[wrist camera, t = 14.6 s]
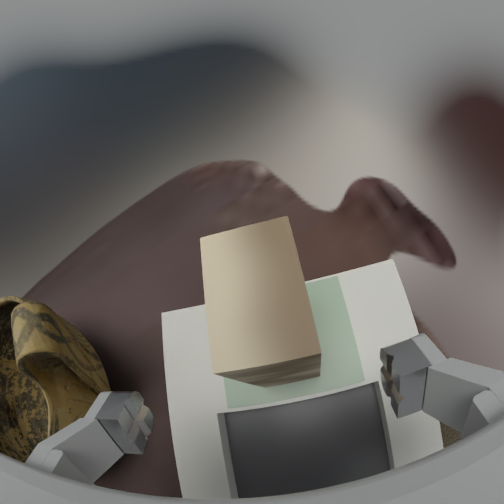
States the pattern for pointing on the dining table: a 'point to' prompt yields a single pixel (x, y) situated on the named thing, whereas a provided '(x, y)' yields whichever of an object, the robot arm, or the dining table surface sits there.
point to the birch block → (258, 306)
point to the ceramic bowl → (42, 375)
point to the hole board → (297, 400)
